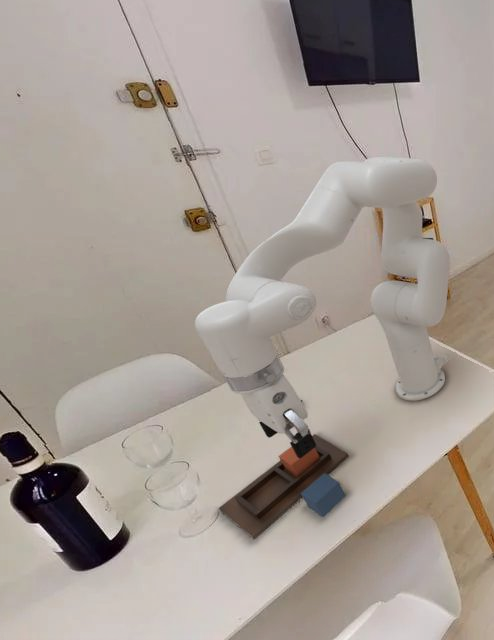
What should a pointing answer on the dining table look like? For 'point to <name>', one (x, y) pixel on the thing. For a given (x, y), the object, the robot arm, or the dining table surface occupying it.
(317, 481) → the blue block
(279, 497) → the dark brown flat tray
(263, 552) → the dining table surface
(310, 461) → the orange-brown block
